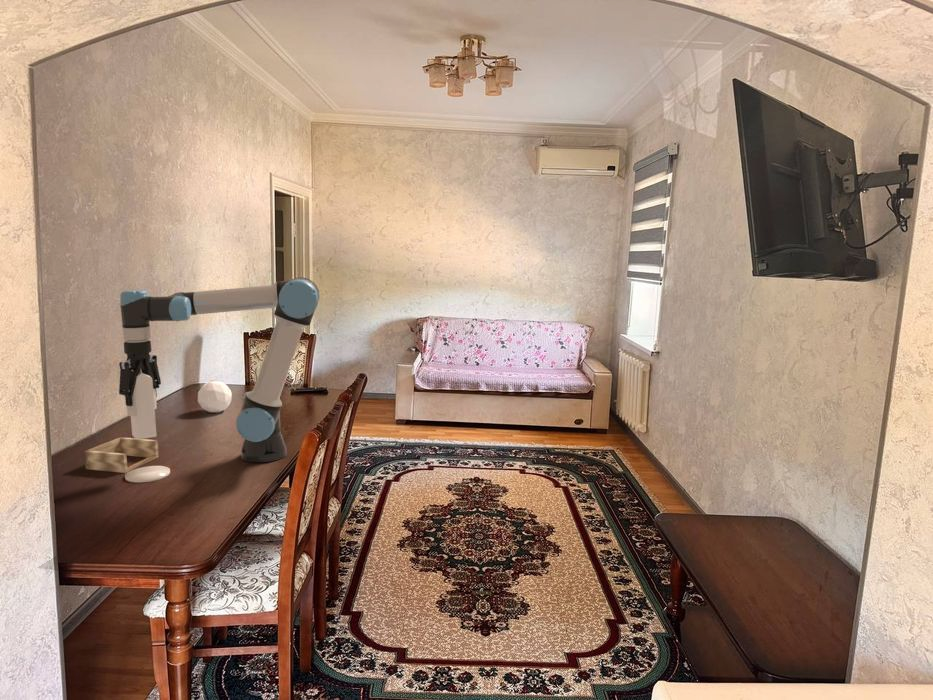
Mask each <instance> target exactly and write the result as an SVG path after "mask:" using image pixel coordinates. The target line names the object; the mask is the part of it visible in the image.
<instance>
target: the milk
mask: <svg viewBox="0 0 933 700" xmlns="http://www.w3.org/2000/svg"><path fill="white" fill-rule="evenodd" d="M129 392H130V391H129ZM133 395H135V396H136V409H137V416H130V425H131V435H132V436H133V437H132V438H135V439H136V440H138V439H150V438H154V437H155V438H156V437H157V423H156V412H155V411H156V409H154V395H153V382H152V378H151V377H150V376H149V375H146V374H144V373H142V371H141V369H140V373H139V374H138V375H137V379H136V384H135V388H134V393H133Z"/></svg>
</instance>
